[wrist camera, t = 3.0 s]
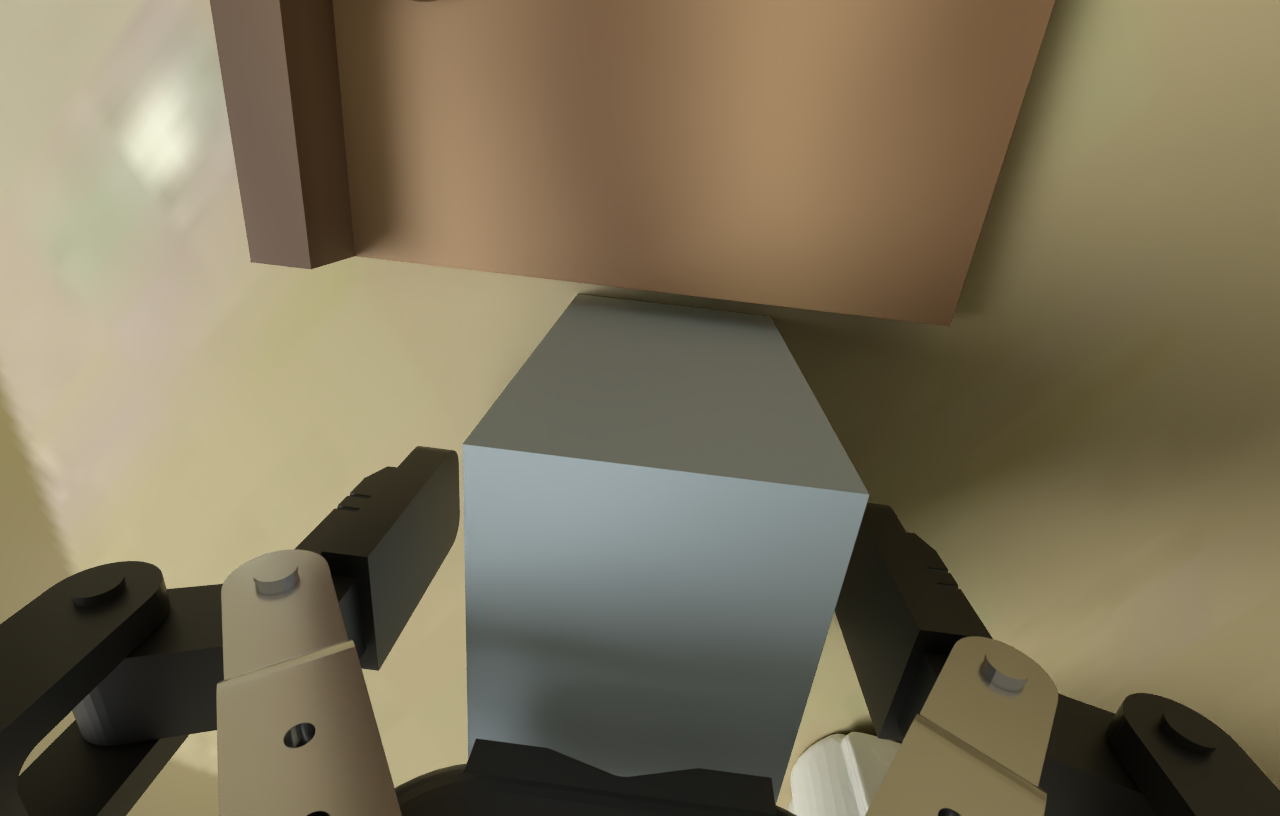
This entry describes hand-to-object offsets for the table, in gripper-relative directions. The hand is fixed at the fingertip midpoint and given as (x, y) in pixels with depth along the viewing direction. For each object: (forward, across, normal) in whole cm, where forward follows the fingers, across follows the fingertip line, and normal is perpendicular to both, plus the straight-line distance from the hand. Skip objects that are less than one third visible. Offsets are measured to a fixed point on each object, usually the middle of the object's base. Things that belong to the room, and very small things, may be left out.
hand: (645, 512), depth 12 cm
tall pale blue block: (+2, 0, 0) cm, 2 cm away
